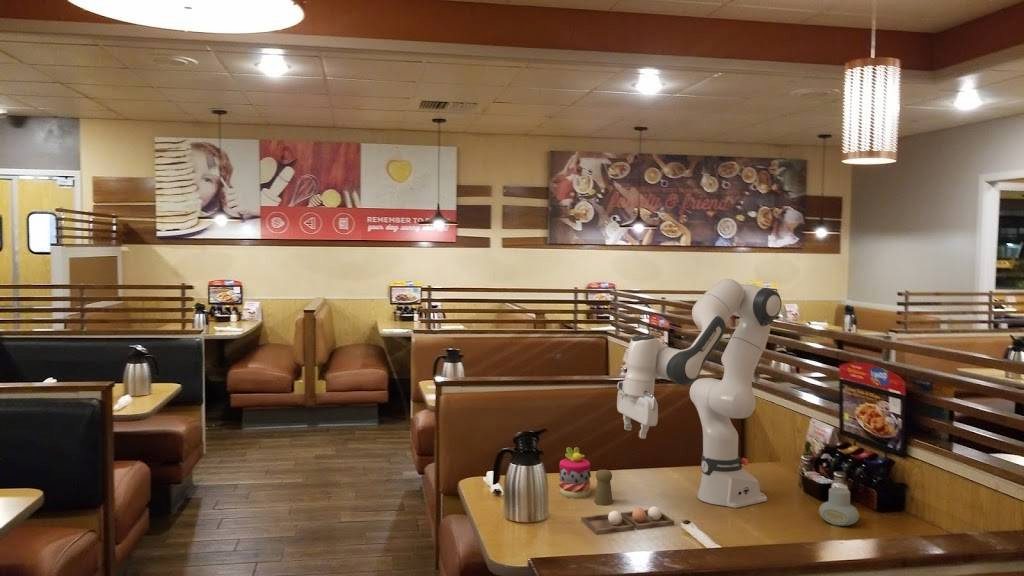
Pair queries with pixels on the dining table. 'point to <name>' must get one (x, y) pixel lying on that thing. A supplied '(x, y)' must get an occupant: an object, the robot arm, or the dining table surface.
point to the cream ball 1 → (614, 517)
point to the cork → (603, 488)
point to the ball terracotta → (639, 515)
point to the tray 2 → (648, 521)
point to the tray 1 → (605, 524)
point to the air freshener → (839, 508)
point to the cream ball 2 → (654, 513)
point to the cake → (574, 475)
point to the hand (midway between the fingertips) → (634, 433)
